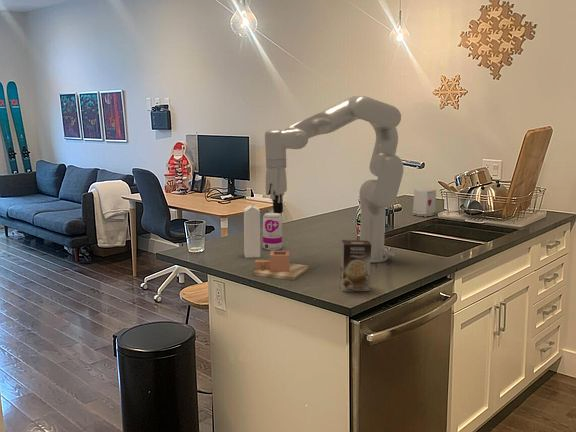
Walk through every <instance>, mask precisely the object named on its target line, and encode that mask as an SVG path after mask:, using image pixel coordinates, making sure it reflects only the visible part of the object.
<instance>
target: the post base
mask: <svg viewBox="0 0 576 432" xmlns="http://www.w3.org/2000/svg"><path fill="white" fill-rule="evenodd" d="M309 270H310V265H308V264H298V263H290V262H289V272H270V270H264V262H261V270H255V269H254V271H252V276H256V277H264V278H272V279H280V280H288V281H289V280H290V281H296V280H297V279H299V278H300V277H301V276H302V275H304V274H305V273H306V272H307V271H309Z"/></svg>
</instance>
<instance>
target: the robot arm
mask: <svg viewBox="0 0 576 432" xmlns="http://www.w3.org/2000/svg"><path fill="white" fill-rule="evenodd" d="M357 120H363V121H365V122H368V123H369V124H370V125H371V127H372V128H373V130H374V132H375V143H374V146H373V149H372V154H371V157H370V162H369V168H368V169H369V171H370V173H371V174H372V175H373V176H375V177H377V179H368V180H366V181H364V182H363V183H362V185H360V188H359V203H360V226H359V227H360V231H359V240H363V241H368V242H370V243H371V262H370V263H383V262H386V261H387V260H388V257H390V258H395V254H396V253H395V251H393V250H387V248H386V247H385V233H386V232H385V230H386V229H385V228H386V210H385V209H387V208H389V207H390V206H392V205H393V204H394V203H395V201H396V199H397V197H398V193H399V189H400V187H401V186H400V185H401V182H402V179H403V176H404V163H403V161H402V159H401V157H399V156H398V155H396V154H397V153H396V152H397V147H398V144H399V135H398V133H399V132H398V129H397V127H398V126H399V125H400V123H401V120H402V113H401V111H400V110H399V109H398V108H397V107H396V106H394V105H391V104H389V103H386V102H384V101H380V100H378V99H374V98H372V97H369V96H365V95H356V96H351V97H348V98H346V99H344V100H343V101H341V102H338V103H337V104H334V105H333V106H330V107H328V108H326V109H325V110H322V111H320V112H318V113H316V114H313V115H311V116H308V117H306V118H304V119H301V120H300V121H298V122H296V123H293V124H292V125H290V126H288V127H286V128H285V129H284V130H283V129H268V130H266V131H265V132H264V147H265V148H264V150H265V152H264V153H265V168H266V170H265V195H266V196H269V198H270V200H271V201H272V210H273V211H272V213H280V214H283V213H284V210H283V209H284V206H283V203H284V202H283V200H284V195H285V193H286V192H287V190H288V184H287V183H288V181H287V171H286V169H287V149H289V150H300V149H303V148H305V147H306V146H307V144H308V141H309V139H311V138H313V137H316V136H320V135H326V134H327V135H328V134H330V133H334V132H336V131H337V130H339V129H341V128H343V127H345V126H346V125H349V124H350V123H353V122H355V121H357Z"/></svg>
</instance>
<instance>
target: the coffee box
mask: <svg viewBox="0 0 576 432" xmlns="http://www.w3.org/2000/svg"><path fill="white" fill-rule="evenodd" d="M340 249H341V253H340V278H339V281H340V282H339V286H340V289H341V291H342V292H354V291H369V292H370V281H371V280H370V278H371V263H372V262H371V243H370V242H368V241H363V240H360V239H359V240H356V239H352V240H351V239H342V240H341V248H340Z"/></svg>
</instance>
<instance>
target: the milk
mask: <svg viewBox="0 0 576 432" xmlns="http://www.w3.org/2000/svg"><path fill="white" fill-rule="evenodd" d="M243 234H244V235H243V240H244V241H243V243H244V244H243V248H244V249H243V251H244V253H243V255H244V257H245V258H246V259H247V258H249V259H250V258H261V210H260V209H259V208H258V207H257V206H254V203H253V201H252V200H251V201H250V205H248V206H247V207H244V208H243Z"/></svg>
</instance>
